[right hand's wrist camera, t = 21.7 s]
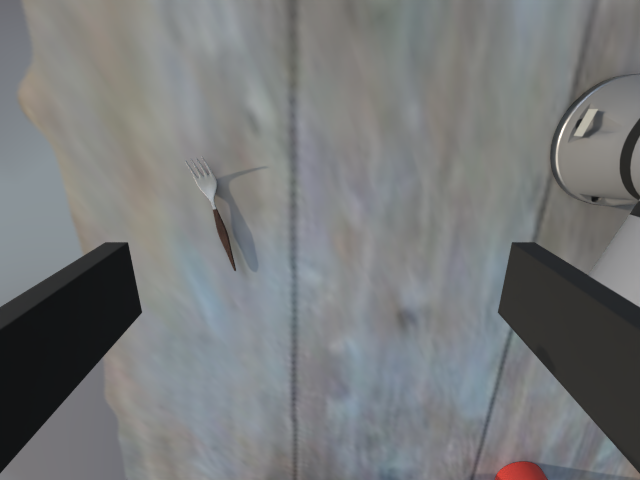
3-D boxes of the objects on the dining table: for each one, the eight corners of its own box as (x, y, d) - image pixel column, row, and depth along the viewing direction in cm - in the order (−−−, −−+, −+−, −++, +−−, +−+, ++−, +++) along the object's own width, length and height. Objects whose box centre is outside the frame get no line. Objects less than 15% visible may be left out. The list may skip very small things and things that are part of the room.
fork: (227, 271, 50) (223, 277, 48) (188, 158, 44) (182, 160, 42) (245, 267, 49) (242, 273, 47) (208, 154, 44) (203, 156, 42)
